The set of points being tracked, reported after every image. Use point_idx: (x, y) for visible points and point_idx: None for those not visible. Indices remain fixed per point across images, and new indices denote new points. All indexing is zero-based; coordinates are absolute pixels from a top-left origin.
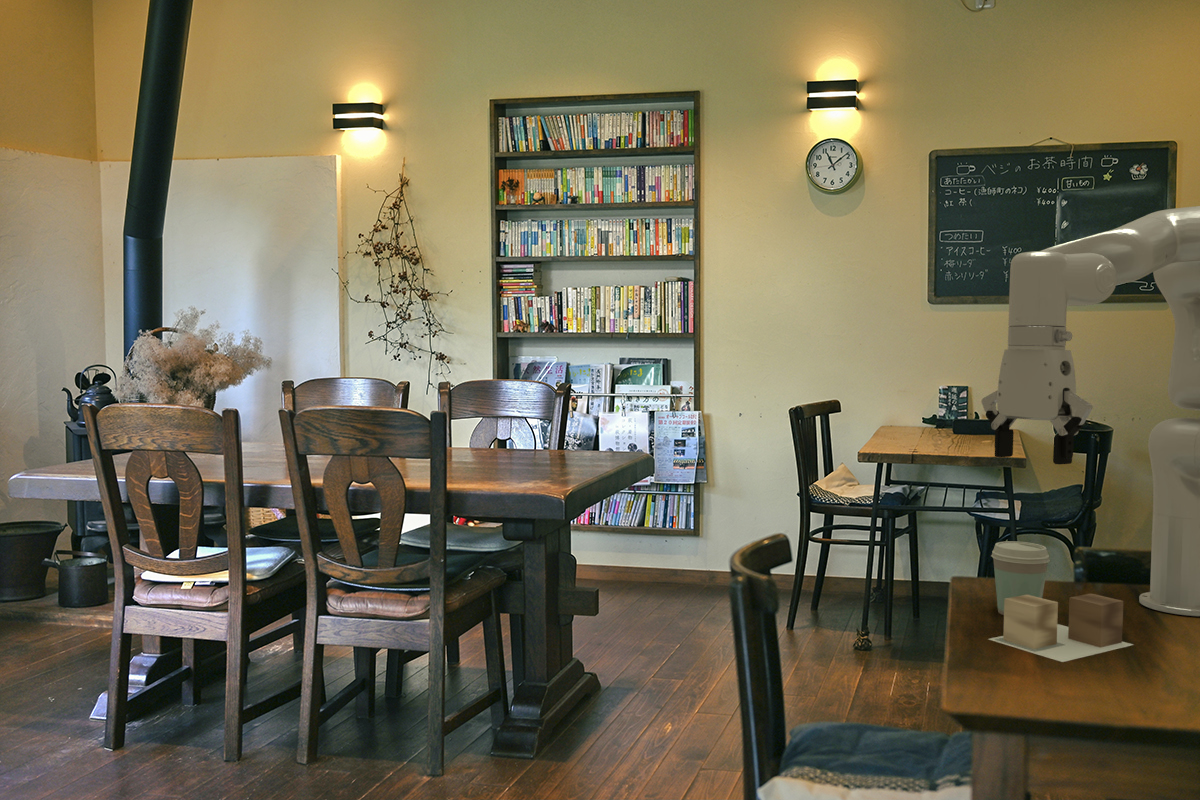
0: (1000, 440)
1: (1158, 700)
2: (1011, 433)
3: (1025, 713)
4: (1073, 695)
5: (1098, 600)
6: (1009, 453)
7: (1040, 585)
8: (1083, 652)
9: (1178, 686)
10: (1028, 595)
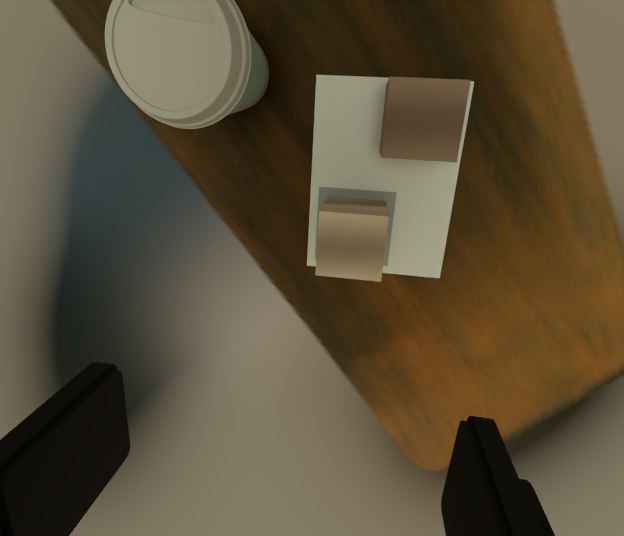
0: (75, 523)
1: (587, 283)
2: (25, 482)
3: None
4: (495, 348)
5: (432, 127)
6: (116, 399)
7: (257, 61)
8: (436, 206)
9: (591, 199)
10: (324, 215)
